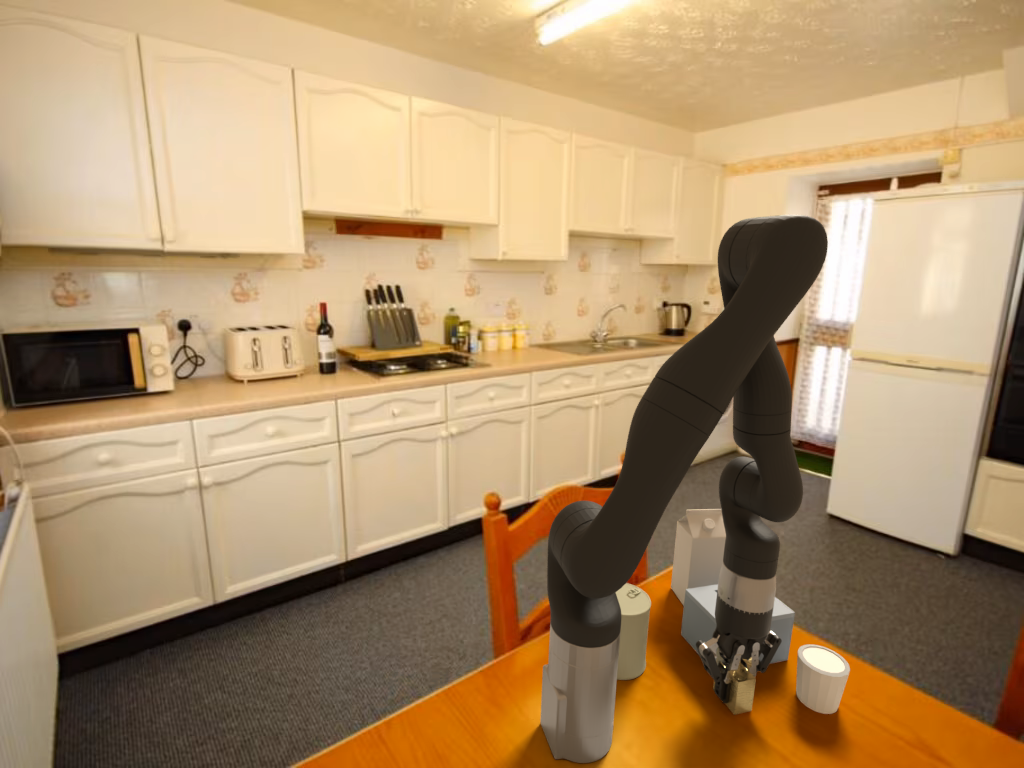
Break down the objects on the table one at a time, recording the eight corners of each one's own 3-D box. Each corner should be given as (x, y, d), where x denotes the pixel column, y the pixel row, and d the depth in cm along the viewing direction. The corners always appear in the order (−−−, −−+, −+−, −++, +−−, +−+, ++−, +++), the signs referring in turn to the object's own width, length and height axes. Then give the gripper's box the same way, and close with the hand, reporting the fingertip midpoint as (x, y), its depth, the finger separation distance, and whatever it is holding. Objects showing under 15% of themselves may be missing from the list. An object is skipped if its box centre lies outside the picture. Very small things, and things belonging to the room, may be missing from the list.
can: (657, 665, 87) (664, 600, 84) (618, 689, 81) (623, 620, 79) (616, 633, 94) (621, 573, 91) (578, 653, 89) (581, 589, 86)
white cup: (850, 721, 77) (858, 679, 75) (799, 712, 78) (806, 671, 76) (832, 686, 83) (839, 647, 82) (785, 678, 84) (791, 640, 83)
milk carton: (670, 588, 108) (678, 502, 104) (703, 586, 109) (713, 501, 105) (685, 609, 101) (695, 518, 97) (720, 608, 102) (731, 517, 98)
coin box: (716, 674, 85) (722, 625, 83) (680, 634, 94) (685, 589, 92) (787, 660, 89) (795, 612, 87) (746, 622, 98) (752, 578, 96)
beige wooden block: (734, 714, 77) (738, 682, 76) (712, 689, 82) (716, 658, 81) (751, 710, 78) (755, 678, 77) (729, 685, 83) (733, 655, 81)
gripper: (720, 618, 71) (707, 726, 74) (805, 603, 75) (788, 707, 78) (688, 586, 78) (677, 686, 81) (766, 574, 82) (753, 671, 85)
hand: (732, 696), depth 80 cm, fingers closed on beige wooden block, 2 cm apart
